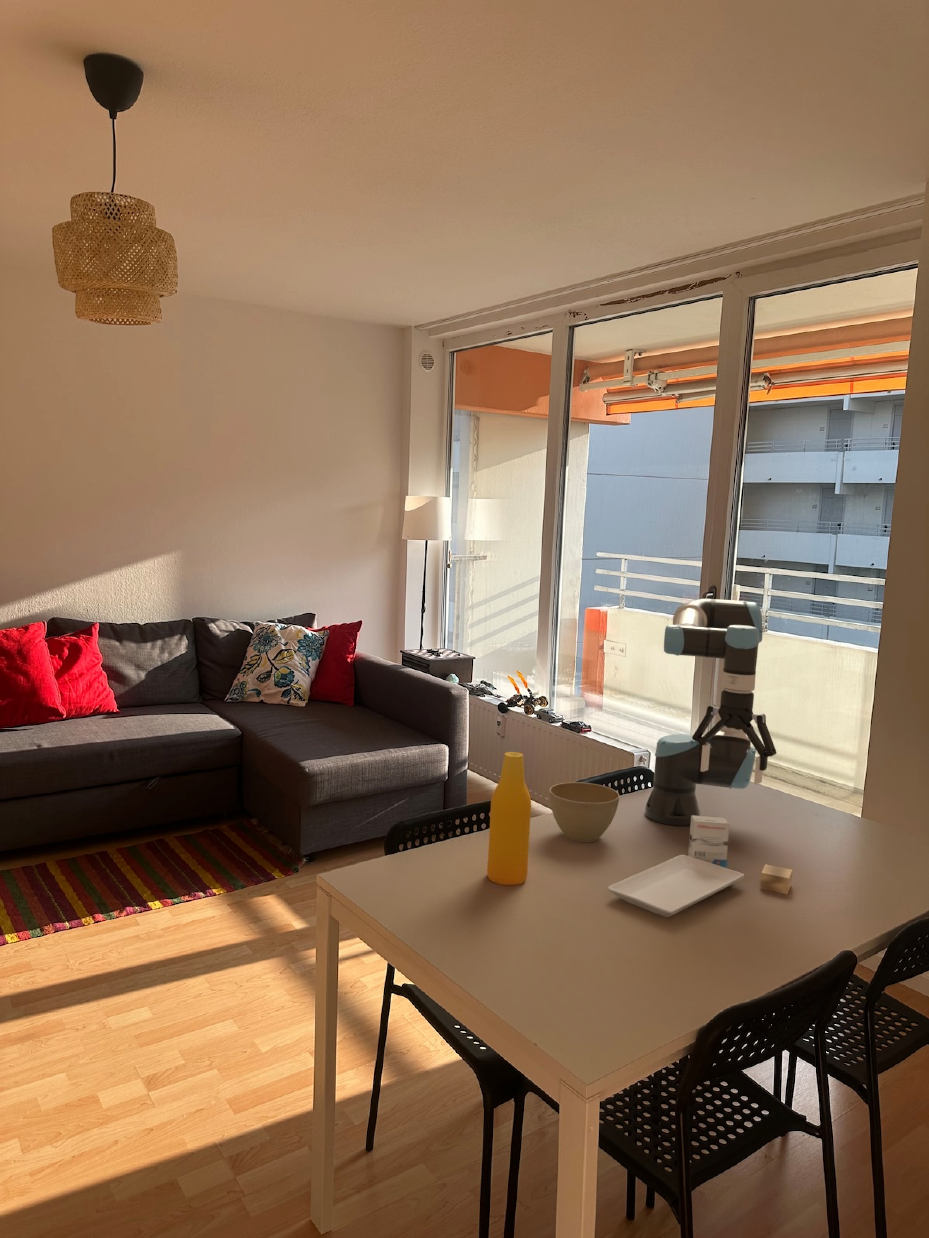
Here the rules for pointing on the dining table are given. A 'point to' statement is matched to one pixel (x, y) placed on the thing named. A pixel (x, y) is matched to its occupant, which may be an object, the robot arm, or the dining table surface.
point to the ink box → (709, 839)
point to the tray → (674, 884)
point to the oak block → (776, 879)
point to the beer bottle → (509, 824)
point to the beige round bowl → (583, 809)
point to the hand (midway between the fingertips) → (730, 776)
